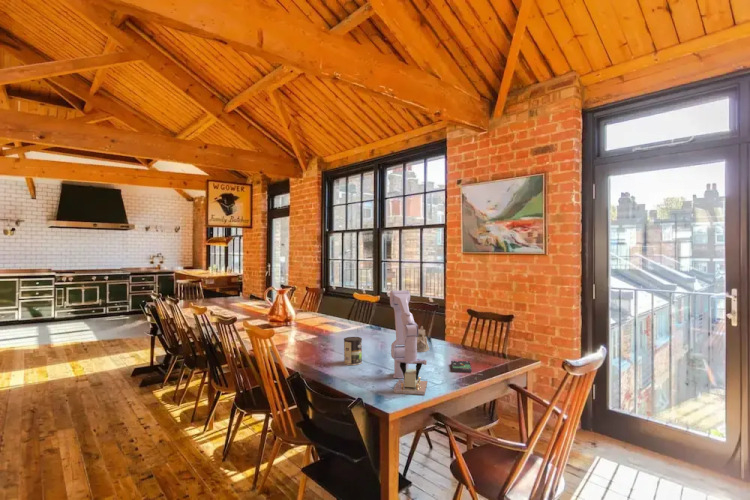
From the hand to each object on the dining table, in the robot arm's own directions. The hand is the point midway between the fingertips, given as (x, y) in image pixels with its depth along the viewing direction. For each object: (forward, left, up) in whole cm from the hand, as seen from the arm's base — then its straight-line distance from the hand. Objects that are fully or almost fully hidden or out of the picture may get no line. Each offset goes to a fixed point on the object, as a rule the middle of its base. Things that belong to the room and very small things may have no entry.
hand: (411, 379), depth 195 cm
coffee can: (-37, -38, -5) cm, 54 cm away
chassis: (0, 0, -4) cm, 4 cm away
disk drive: (-38, +23, -5) cm, 44 cm away
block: (0, 0, -2) cm, 3 cm away
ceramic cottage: (-77, -5, -5) cm, 77 cm away
